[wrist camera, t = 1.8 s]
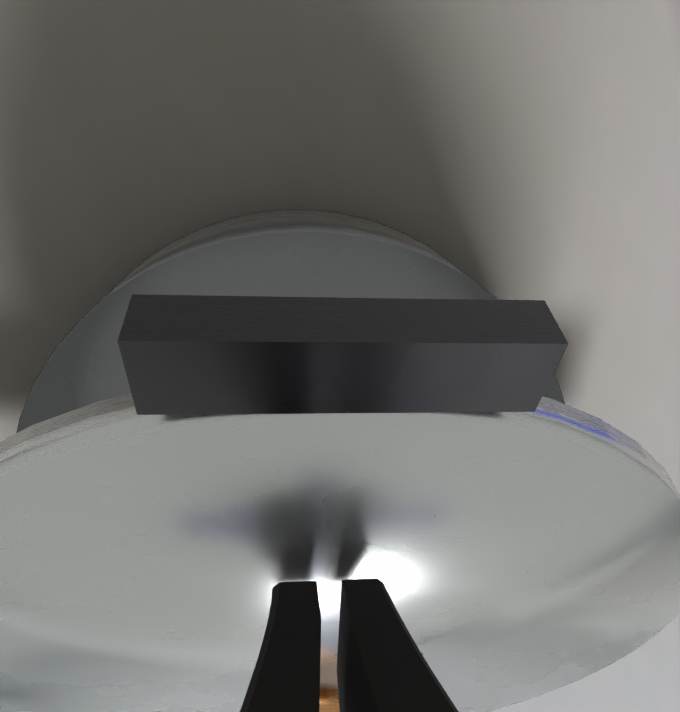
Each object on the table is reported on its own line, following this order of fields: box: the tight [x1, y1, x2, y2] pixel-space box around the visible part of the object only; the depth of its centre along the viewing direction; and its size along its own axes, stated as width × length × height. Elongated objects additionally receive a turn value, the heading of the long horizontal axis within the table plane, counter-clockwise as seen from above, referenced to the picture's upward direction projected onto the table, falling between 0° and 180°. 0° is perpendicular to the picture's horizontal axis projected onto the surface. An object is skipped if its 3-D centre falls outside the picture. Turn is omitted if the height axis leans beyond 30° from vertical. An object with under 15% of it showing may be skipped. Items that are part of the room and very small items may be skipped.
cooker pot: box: [17, 210, 565, 433], centre depth 18 cm, size 18×20×4 cm
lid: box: [0, 294, 680, 712], centre depth 12 cm, size 18×17×2 cm
